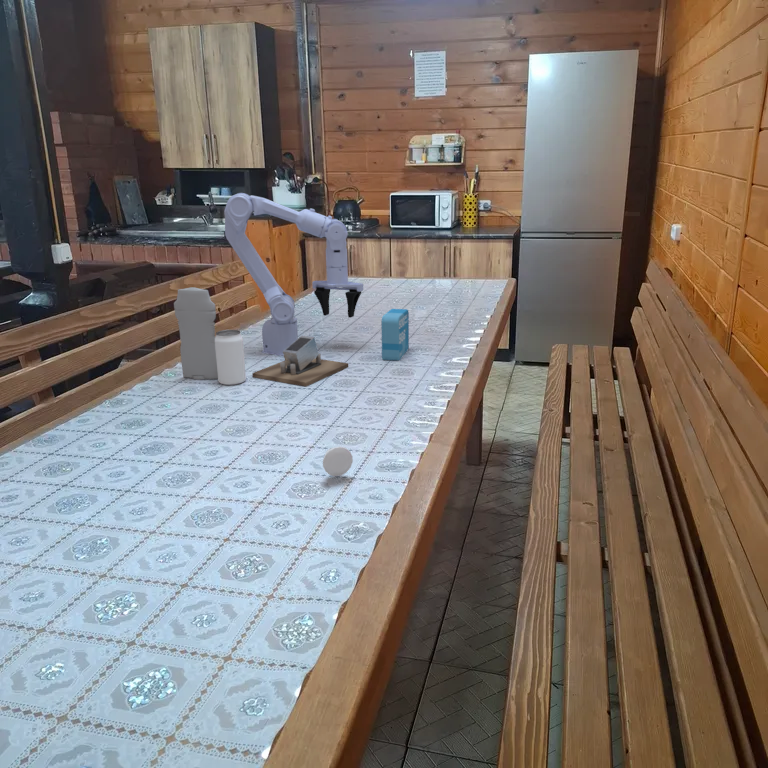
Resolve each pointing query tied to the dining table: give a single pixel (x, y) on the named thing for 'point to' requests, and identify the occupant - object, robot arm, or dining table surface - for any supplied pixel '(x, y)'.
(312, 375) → the pin tray
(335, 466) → the grey oval shape
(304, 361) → the block
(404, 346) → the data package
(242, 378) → the can
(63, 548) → the dining table surface
